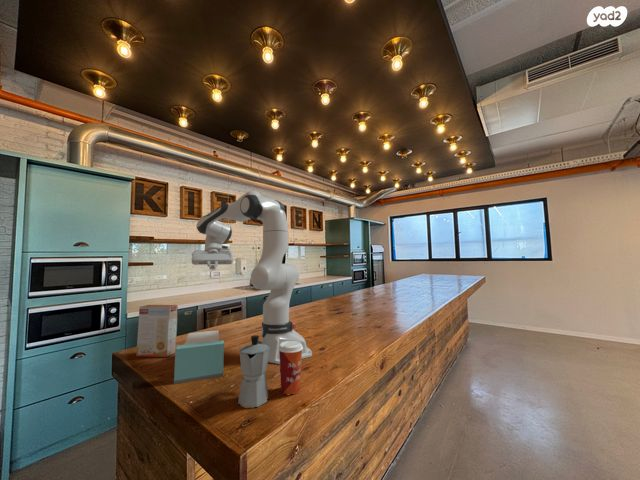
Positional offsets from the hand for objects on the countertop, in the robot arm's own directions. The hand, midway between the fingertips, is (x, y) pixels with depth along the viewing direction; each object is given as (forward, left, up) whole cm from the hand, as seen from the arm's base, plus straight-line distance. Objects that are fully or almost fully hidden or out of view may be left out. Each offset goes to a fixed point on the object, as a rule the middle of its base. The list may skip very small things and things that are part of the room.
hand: (212, 268), depth 128 cm
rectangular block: (+2, +24, -36) cm, 44 cm away
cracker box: (+21, +11, -37) cm, 43 cm away
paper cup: (-24, +63, -37) cm, 76 cm away
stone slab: (+2, +27, -31) cm, 42 cm away
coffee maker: (-13, +63, -37) cm, 74 cm away
